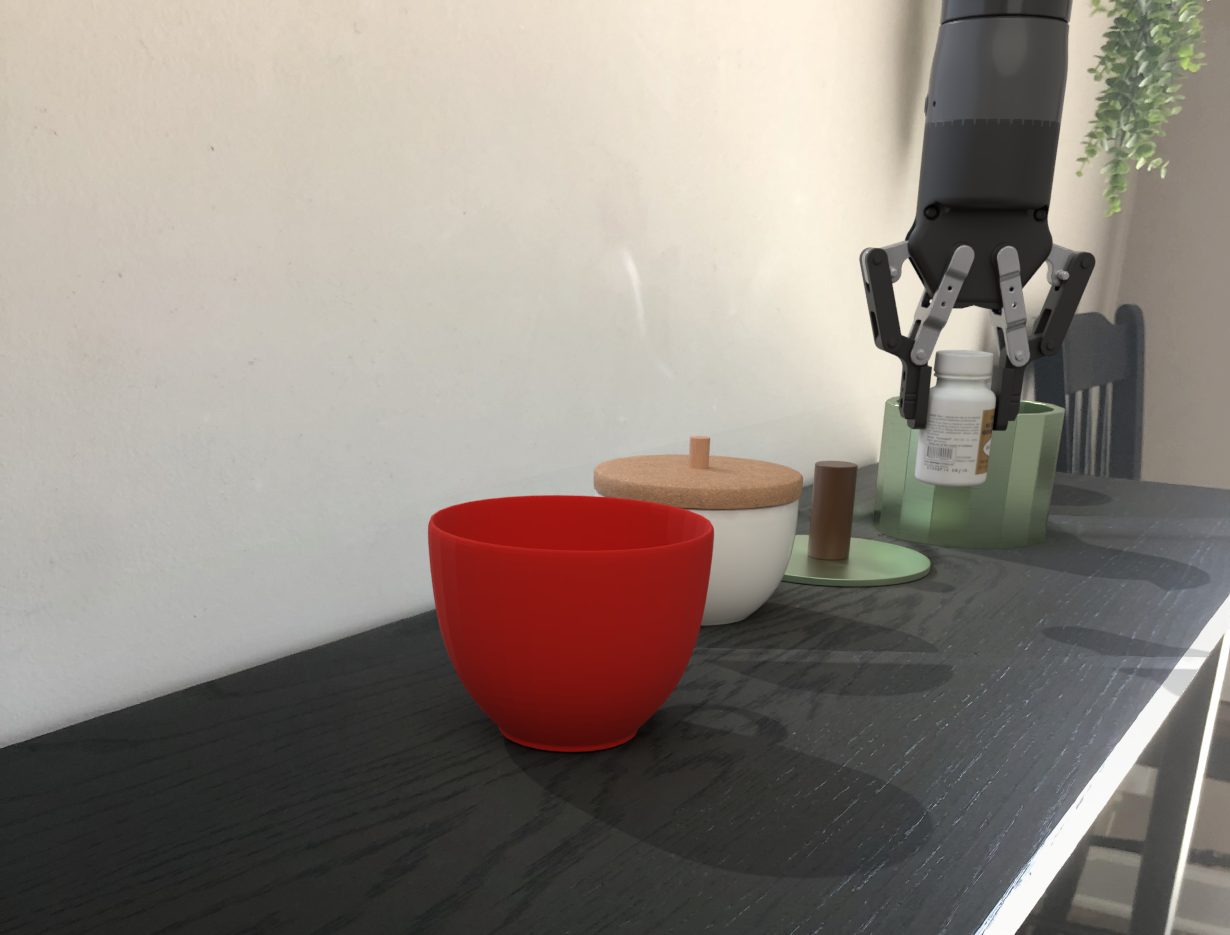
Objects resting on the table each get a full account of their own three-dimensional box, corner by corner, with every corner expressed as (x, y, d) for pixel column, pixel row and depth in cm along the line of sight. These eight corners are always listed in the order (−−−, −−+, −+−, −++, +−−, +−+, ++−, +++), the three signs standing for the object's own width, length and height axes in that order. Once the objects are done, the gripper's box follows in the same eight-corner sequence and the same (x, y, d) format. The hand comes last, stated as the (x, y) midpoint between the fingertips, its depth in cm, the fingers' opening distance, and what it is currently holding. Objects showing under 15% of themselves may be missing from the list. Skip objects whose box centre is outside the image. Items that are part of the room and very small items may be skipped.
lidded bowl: (799, 650, 78) (816, 456, 73) (584, 641, 78) (588, 448, 74) (783, 597, 89) (797, 426, 85) (596, 590, 90) (600, 420, 85)
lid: (903, 550, 104) (915, 450, 101) (951, 597, 90) (966, 483, 87) (717, 546, 103) (723, 446, 100) (737, 593, 90) (745, 478, 87)
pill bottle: (995, 488, 82) (1012, 355, 79) (925, 487, 82) (940, 354, 78) (972, 475, 86) (988, 349, 83) (905, 475, 86) (919, 348, 82)
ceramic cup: (736, 679, 72) (749, 492, 68) (672, 793, 57) (683, 562, 53) (508, 656, 75) (508, 475, 71) (390, 759, 60) (381, 537, 56)
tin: (1014, 522, 116) (1032, 396, 111) (1066, 557, 103) (1089, 417, 99) (858, 519, 115) (871, 392, 111) (892, 553, 103) (908, 412, 99)
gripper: (881, 109, 72) (853, 436, 79) (1142, 115, 72) (1091, 439, 79) (855, 119, 79) (831, 419, 86) (1094, 124, 79) (1051, 422, 86)
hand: (956, 427), depth 82 cm, fingers closed on pill bottle, 4 cm apart
